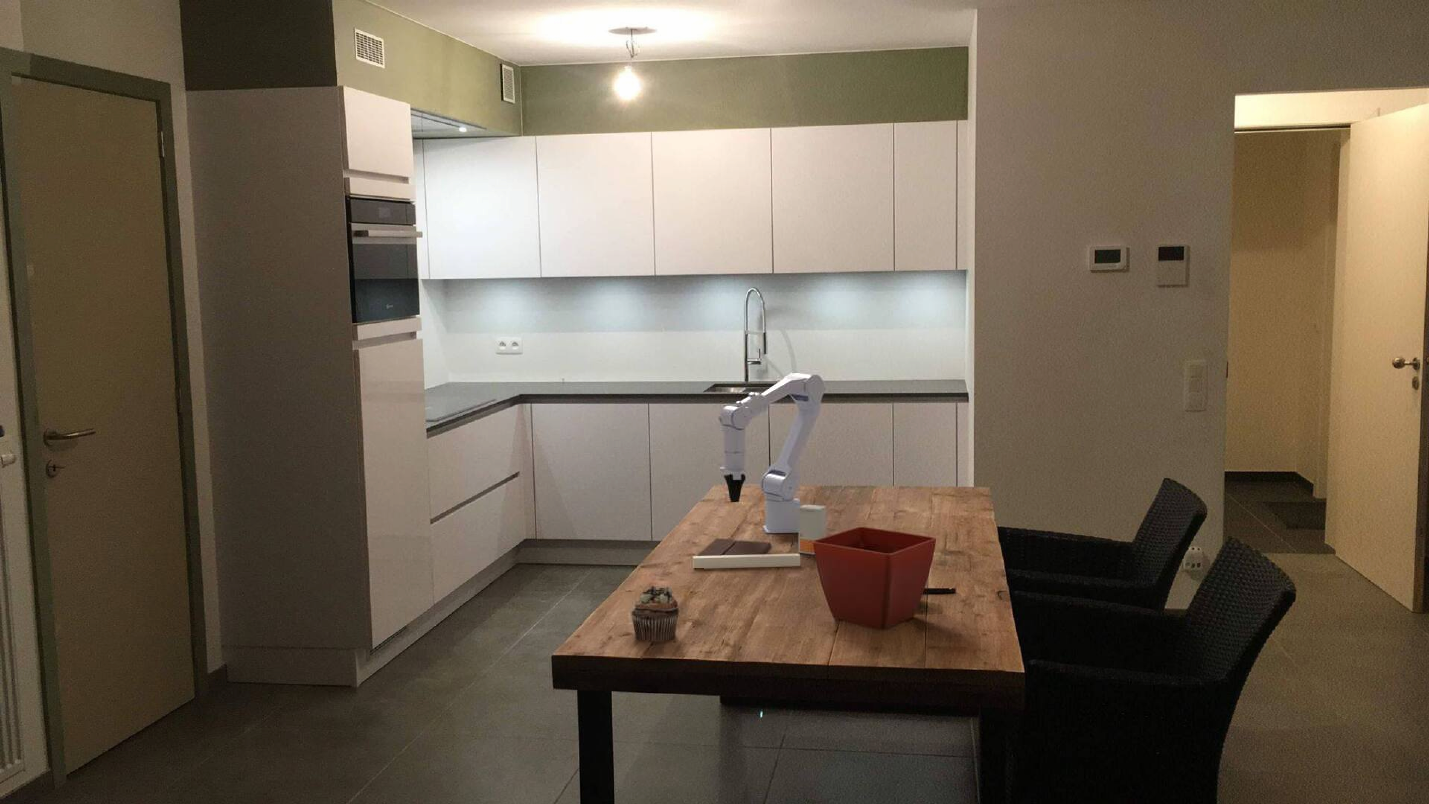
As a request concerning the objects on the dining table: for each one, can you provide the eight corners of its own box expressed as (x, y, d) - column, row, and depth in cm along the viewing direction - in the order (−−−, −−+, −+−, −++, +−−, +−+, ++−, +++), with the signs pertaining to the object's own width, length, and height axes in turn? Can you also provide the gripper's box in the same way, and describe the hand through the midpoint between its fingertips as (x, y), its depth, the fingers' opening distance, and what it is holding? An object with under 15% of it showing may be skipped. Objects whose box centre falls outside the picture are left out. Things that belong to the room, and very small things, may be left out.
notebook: (771, 548, 324) (771, 540, 323) (753, 567, 305) (753, 559, 304) (715, 545, 327) (715, 537, 327) (694, 563, 309) (694, 555, 308)
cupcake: (678, 628, 254) (678, 580, 253) (679, 643, 245) (678, 593, 243) (631, 629, 254) (631, 581, 253) (630, 644, 244) (629, 594, 243)
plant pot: (860, 600, 274) (860, 524, 272) (937, 615, 262) (938, 537, 260) (810, 620, 259) (810, 540, 257) (889, 637, 247) (890, 554, 245)
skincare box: (797, 553, 316) (797, 506, 315) (804, 549, 320) (804, 503, 319) (819, 555, 314) (820, 509, 312) (826, 552, 317) (826, 506, 316)
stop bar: (798, 564, 306) (798, 553, 305) (800, 566, 304) (800, 555, 303) (693, 566, 303) (692, 556, 303) (693, 568, 301) (693, 558, 301)
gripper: (717, 447, 337) (717, 496, 339) (721, 456, 323) (722, 507, 324) (743, 446, 338) (743, 496, 339) (748, 455, 323) (748, 507, 325)
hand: (734, 501), depth 332 cm, fingers closed
